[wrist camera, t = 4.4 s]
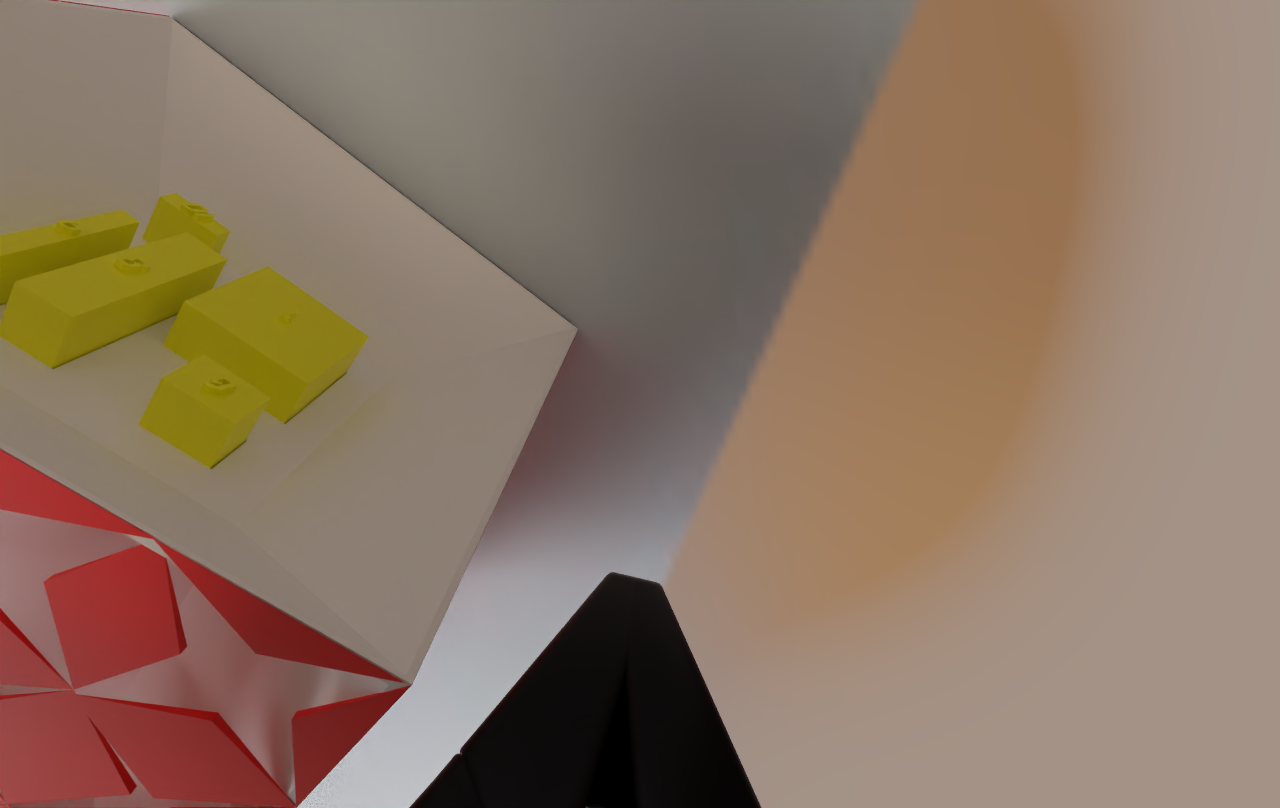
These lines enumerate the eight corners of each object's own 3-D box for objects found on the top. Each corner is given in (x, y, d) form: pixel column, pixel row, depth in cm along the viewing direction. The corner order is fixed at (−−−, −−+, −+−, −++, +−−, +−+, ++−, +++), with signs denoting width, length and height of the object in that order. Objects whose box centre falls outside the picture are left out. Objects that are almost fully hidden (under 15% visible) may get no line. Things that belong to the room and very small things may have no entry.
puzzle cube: (579, 329, 12) (414, 687, 5) (374, 582, 15) (84, 1035, 8) (165, 12, 10) (-1074, -166, 3) (26, 371, 13) (-760, 707, 6)
